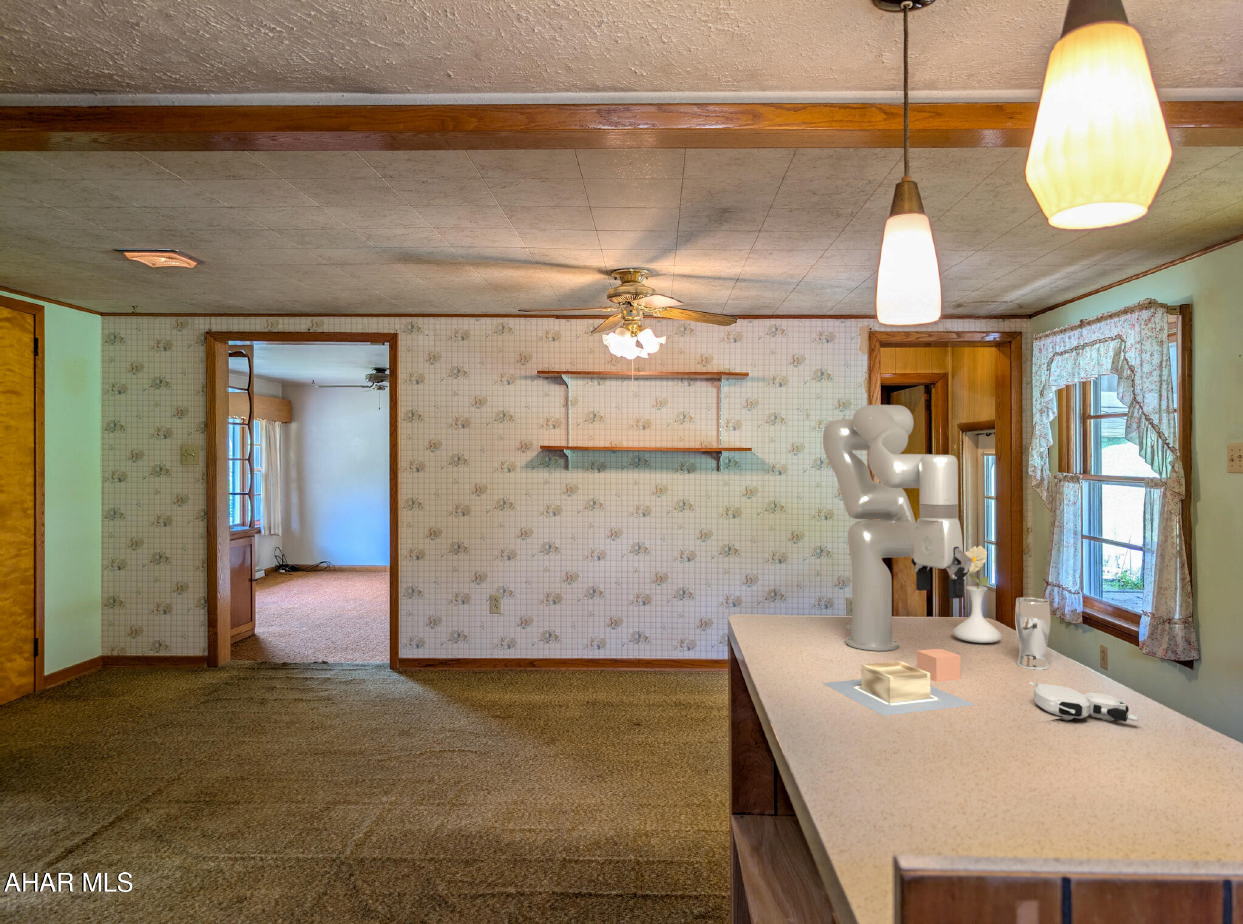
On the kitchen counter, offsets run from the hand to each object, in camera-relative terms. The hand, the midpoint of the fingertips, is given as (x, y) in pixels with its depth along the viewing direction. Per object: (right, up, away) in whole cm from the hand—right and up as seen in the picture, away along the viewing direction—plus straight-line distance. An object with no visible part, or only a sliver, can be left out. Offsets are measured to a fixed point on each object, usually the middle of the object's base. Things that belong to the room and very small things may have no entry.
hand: (939, 594), depth 153 cm
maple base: (-14, -17, -11) cm, 25 cm away
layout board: (-14, -18, -11) cm, 26 cm away
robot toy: (+16, -19, -21) cm, 33 cm away
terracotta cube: (0, -19, 0) cm, 19 cm away
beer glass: (+26, -19, +11) cm, 34 cm away
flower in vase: (+24, -19, +33) cm, 45 cm away
